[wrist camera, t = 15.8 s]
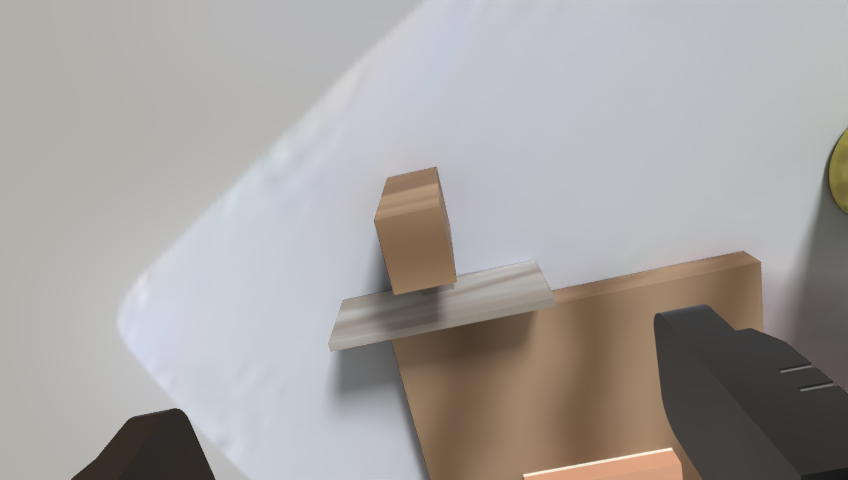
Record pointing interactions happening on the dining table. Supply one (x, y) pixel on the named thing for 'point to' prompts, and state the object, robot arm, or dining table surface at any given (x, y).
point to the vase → (840, 173)
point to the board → (563, 373)
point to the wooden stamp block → (430, 274)
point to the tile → (619, 468)
